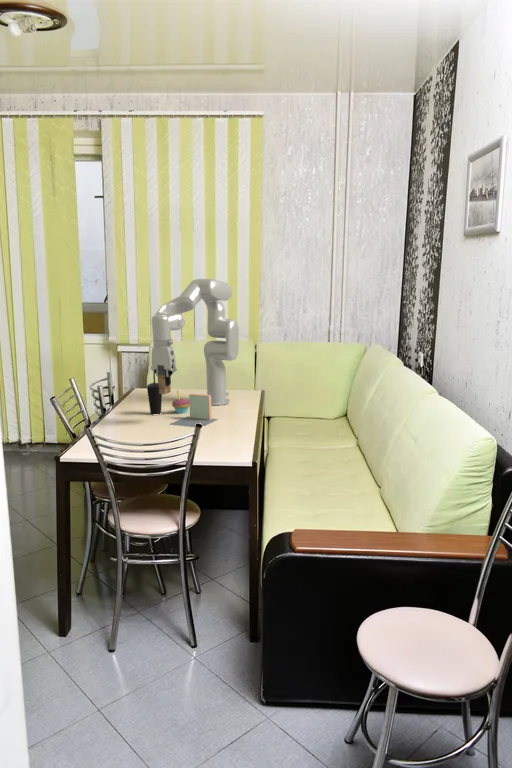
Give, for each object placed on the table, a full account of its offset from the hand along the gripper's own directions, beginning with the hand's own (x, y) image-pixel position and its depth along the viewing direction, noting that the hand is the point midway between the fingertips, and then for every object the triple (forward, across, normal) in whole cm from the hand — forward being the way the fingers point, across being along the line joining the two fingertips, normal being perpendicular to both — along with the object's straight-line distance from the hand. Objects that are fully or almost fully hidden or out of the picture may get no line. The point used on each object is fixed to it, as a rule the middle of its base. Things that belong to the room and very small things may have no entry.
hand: (164, 384), depth 274 cm
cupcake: (+18, +2, -16) cm, 24 cm away
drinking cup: (+17, +13, -11) cm, 24 cm away
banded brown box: (+4, 0, 0) cm, 4 cm away
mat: (+17, -13, -2) cm, 21 cm away
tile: (+17, -13, -8) cm, 22 cm away
